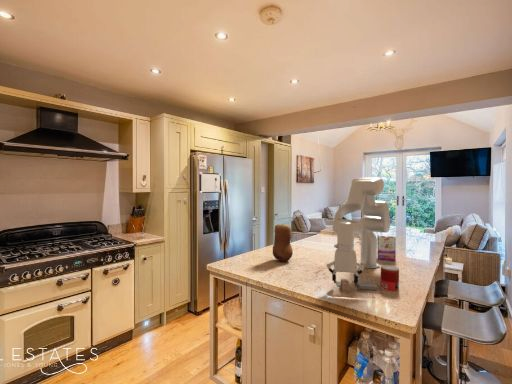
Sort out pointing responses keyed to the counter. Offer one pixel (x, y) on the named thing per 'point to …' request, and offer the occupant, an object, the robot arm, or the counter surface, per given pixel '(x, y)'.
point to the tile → (366, 284)
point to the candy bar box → (386, 247)
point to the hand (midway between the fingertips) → (344, 282)
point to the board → (367, 289)
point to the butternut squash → (282, 243)
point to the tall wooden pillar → (344, 285)
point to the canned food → (390, 277)
